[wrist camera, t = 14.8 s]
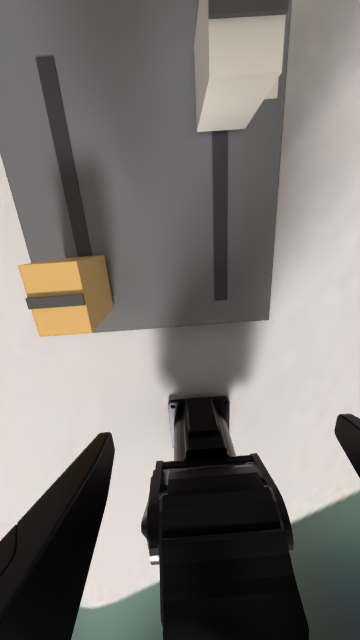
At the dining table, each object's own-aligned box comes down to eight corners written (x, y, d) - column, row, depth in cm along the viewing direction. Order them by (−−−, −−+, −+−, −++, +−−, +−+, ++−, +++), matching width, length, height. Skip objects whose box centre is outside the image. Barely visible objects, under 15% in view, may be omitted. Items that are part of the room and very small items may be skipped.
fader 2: (244, 128, 14) (284, 68, 9) (196, 132, 14) (210, 73, 9) (247, 41, 13) (294, -85, 8) (194, 45, 13) (207, -80, 8)
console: (257, 310, 21) (269, 320, 19) (65, 325, 21) (51, 336, 18) (275, -12, 14) (297, -66, 11) (-17, 6, 14) (-57, -45, 11)
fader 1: (113, 308, 18) (90, 334, 13) (75, 310, 18) (37, 338, 13) (104, 255, 16) (74, 261, 11) (62, 258, 16) (15, 265, 11)
